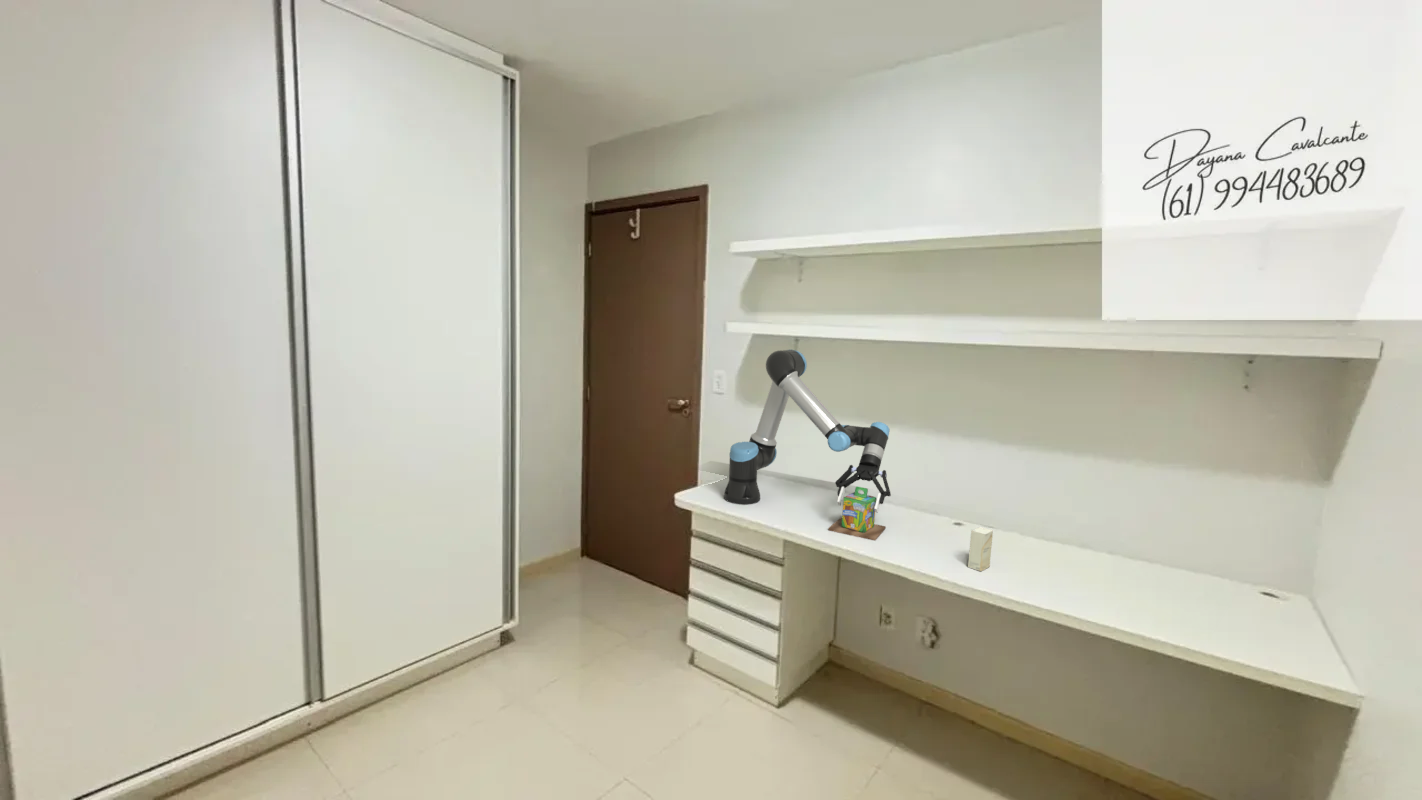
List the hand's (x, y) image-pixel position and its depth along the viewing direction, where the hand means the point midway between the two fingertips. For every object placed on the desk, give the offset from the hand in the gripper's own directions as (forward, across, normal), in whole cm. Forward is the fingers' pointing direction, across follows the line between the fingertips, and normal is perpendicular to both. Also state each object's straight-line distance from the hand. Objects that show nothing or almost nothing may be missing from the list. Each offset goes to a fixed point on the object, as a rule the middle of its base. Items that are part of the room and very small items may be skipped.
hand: (857, 507), depth 211 cm
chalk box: (+4, 0, -8) cm, 9 cm away
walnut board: (+5, 0, -8) cm, 9 cm away
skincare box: (+12, -42, -1) cm, 44 cm away
